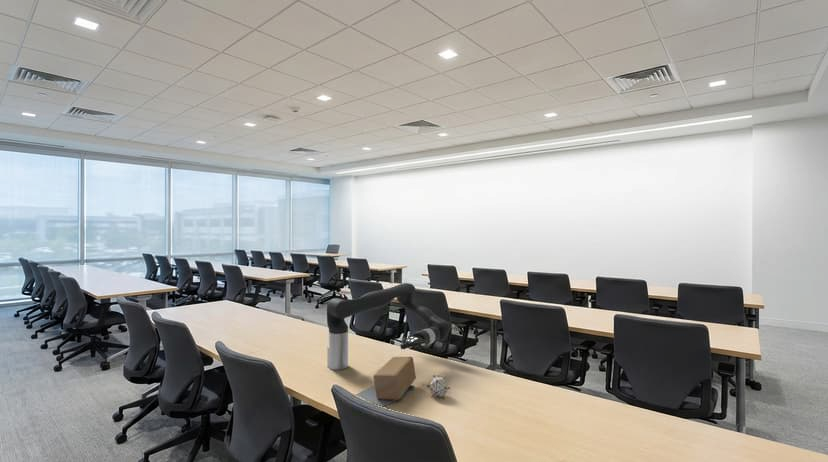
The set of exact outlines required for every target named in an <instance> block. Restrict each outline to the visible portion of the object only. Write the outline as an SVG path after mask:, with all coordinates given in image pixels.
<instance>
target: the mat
mask: <svg viewBox="0 0 828 462" xmlns="http://www.w3.org/2000/svg"><path fill="white" fill-rule="evenodd" d="M414 390H415V385H412V384H411V385H410V386H409V388H408V389H407V390H406V391H405V393H404V394H403V395H402V396H401V398H402V397H404V396H405V395H407V394H409V393H411V392H413V391H414ZM355 395H357V396H359V397H361V398H363V399H365V400H367V401H369V402H372V403H375V404H377V405H376V406H378V405H380V406H379V407H381V406H383V407H382V408H385V407H387V406H389V405H391V404H392V403H394V402H396V401H397V400H389V399H377V397H376V390H375V384H374V385H372V386H369V387H368V388H365V389H364V390H362V391H360V392H358V393H355ZM369 402H368V403H369ZM372 403H371V404H372ZM375 404H374V405H375Z"/></svg>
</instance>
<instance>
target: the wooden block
mask: <svg viewBox="0 0 828 462" xmlns="http://www.w3.org/2000/svg"><path fill="white" fill-rule="evenodd" d="M414 361H415V360H414V357H413V356H393V357H391V358H390V359H389V360H388V361H387V362H386V363H385V364H384V365H383V366H382V367H381V368H380V369H378V371H376V372H375V373H374V374H373V382H374V385H375V390H376V397H377V399H389V400H396V401H399V400H400V399H401V398H402V397H403V396H402V395H403V394H404V393H405V391H406V390H407V389H408V388H409V386H410V385H412V384H413V383H414V381H415V380H416V378H417V377H416V376H417V375H416V370H415V363H414ZM401 396H402V397H401Z"/></svg>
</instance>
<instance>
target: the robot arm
mask: <svg viewBox="0 0 828 462" xmlns="http://www.w3.org/2000/svg"><path fill="white" fill-rule="evenodd" d="M415 293H416V287H415V285H414V284H412V283H408V282H407V283H406V282H403V283H400V284H397V285H394V286H391V287H389V288H384V289H380V290H379V289H378V290H374V291H370V292H367V293H365V294H363V295H362V296H360V297H357V298H353V299H343V298H339V297H334V298H331V299H330V300H329V302H328V303H327V305H326V323H327V328H328V346H327V367H328V368H329V369H331V370H335V371H337V370H338V371H339V370H344V369H347V368H348V367H349V326H348V324H347V323H346V321H345V319H346V318H349V317H352V316H355V315H356V314H360V313H364V312H365V313H366V312H369V311H375V310H378V309H381V308H384V307H386V306H387V305H388V304H389V303H391V302H392V301H393V300H394V299H396V302H398V303H399V304H400V305H401V306H403V308H405V309H407V310H408V311H410V312H411V313H413V314H415V316H417V317H418V318H419V319H420V321H422V322H423V323H424V324H425V325H426V326H427V327H428V328H424V329H421V330H418V331H415V332H414V333H413V334H412V336H409V337H408V338H407V337H405V336H403V337H402V339H401V340H402V343H401V344H400V349H401V350H406V349H408V348H409V349H411V348H412V349H422V348H426V347H427V346H429V345H431V344H433V343H435V342H441V343H442V342H444V341H445V340H446V338H447V337H448V335H449V333H450V331H451V328H452V326H451V323H450V322H449V321H447V320H445V319H443V318H441V317H440V316H438V315H437V314H435V312H433V311H432V309H430V308H428V307H426V306H424V305H423V306H422V305H418V304H415V302H414V296H415Z"/></svg>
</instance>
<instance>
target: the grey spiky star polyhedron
mask: <svg viewBox="0 0 828 462" xmlns="http://www.w3.org/2000/svg"><path fill="white" fill-rule="evenodd" d="M432 376H433V378H432V380H431V381H430V383H429V384H427V385H426V386H427V387H429V390H430V393H431V398H433V397H437V398H438V397H439V398H442V399H443V400H445V395H446V393H447V391H448V390H450V389H451V387H449V385H448V383H447V381H446V378H447V376H444V377H440V376H439V377H438V376H435V375H434V374H433V375H432Z"/></svg>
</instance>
